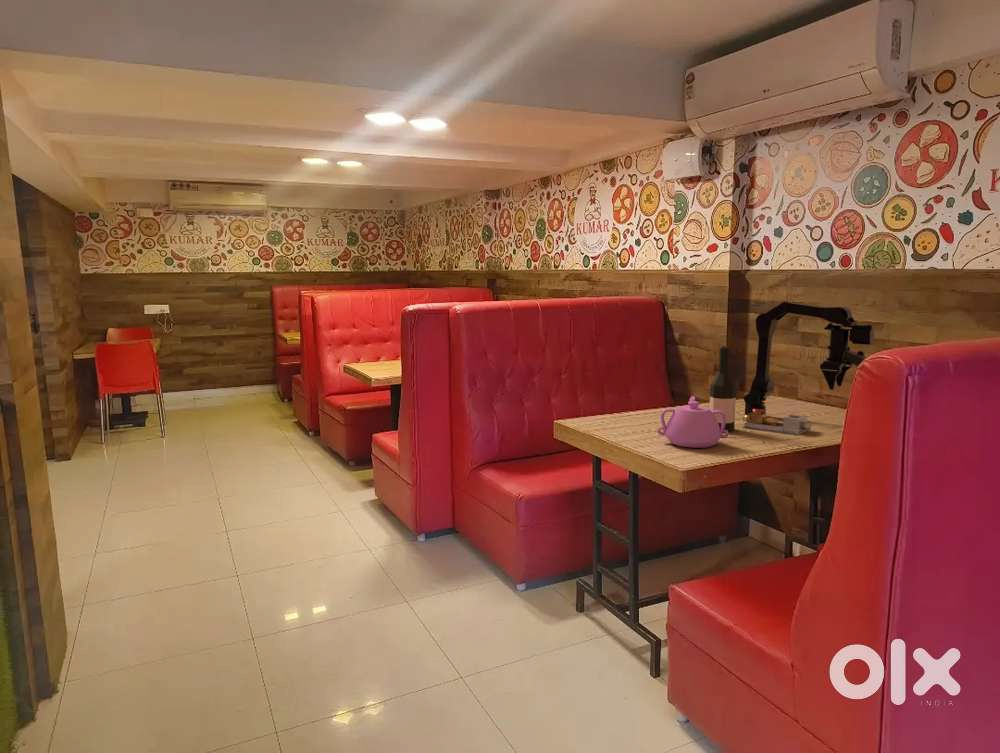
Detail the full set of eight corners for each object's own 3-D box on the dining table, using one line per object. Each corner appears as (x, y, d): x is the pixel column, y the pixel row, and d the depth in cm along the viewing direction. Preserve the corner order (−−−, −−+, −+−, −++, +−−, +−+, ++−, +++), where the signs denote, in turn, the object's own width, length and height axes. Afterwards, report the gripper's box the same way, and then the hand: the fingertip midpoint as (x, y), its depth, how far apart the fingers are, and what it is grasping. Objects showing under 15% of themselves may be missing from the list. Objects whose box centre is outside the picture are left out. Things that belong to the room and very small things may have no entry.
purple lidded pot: (724, 436, 227) (725, 395, 225) (731, 452, 206) (732, 408, 204) (657, 433, 232) (658, 393, 230) (657, 448, 211) (658, 405, 209)
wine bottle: (734, 430, 234) (738, 345, 230) (734, 436, 226) (738, 347, 222) (709, 429, 237) (712, 344, 233) (708, 434, 229) (711, 346, 225)
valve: (741, 425, 238) (742, 408, 237) (746, 423, 241) (747, 406, 240) (773, 429, 231) (774, 412, 230) (777, 427, 234) (778, 410, 233)
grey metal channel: (740, 430, 234) (741, 413, 233) (753, 424, 243) (754, 408, 242) (803, 439, 221) (805, 421, 220) (814, 433, 230) (815, 415, 229)
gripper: (857, 347, 220) (853, 393, 223) (871, 342, 234) (868, 386, 236) (820, 344, 228) (817, 390, 230) (837, 340, 241) (833, 383, 244)
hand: (835, 387), depth 235 cm, fingers open, 9 cm apart
